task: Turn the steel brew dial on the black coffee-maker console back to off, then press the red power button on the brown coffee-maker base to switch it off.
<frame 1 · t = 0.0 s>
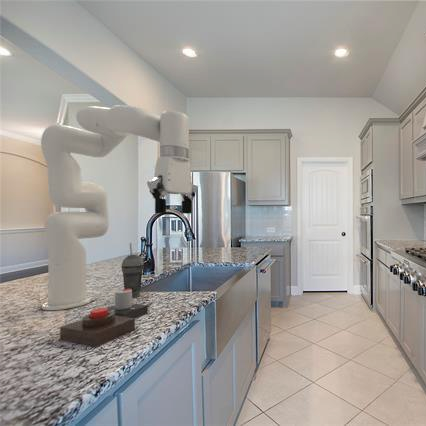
hand: (174, 213, 83), 31 cm above the countertop, tool pointing down, fingers open, 9 cm apart
power button: (99, 313, 72), point 5 cm above the countertop, slide at 0.1 cm
beverage cup: (132, 296, 106), on the countertop
dial: (123, 298, 86), point 5 cm above the countertop, hinge at 90.0°
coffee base: (98, 334, 72), on the countertop
console: (123, 315, 86), on the countertop
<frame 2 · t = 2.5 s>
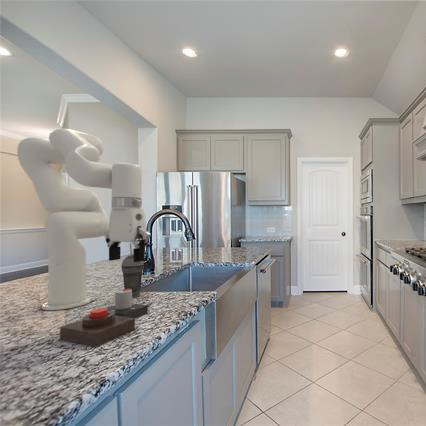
hand: (126, 260, 85), 17 cm above the countertop, tool pointing down, fingers open, 9 cm apart
nothing on the countertop moved.
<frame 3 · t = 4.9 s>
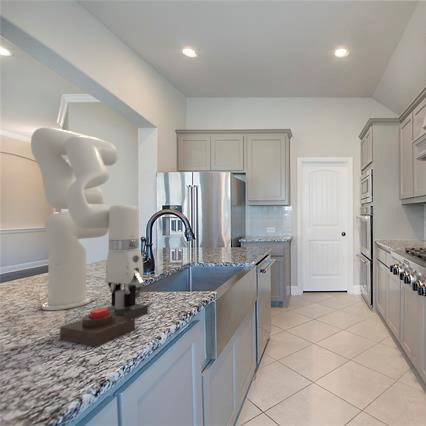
hand: (123, 304, 86), 3 cm above the countertop, tool pointing down, fingers closed on dial, 4 cm apart
dial: (123, 298, 86), point 5 cm above the countertop, hinge at 90.0°, touching gripper
everything else where it was.
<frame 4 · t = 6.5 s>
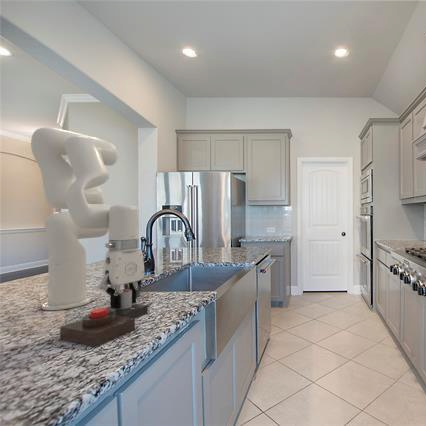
hand: (123, 304, 86), 3 cm above the countertop, tool pointing down, fingers open, 4 cm apart
dial: (123, 298, 86), point 5 cm above the countertop, hinge at -0.2°
everything else where it was.
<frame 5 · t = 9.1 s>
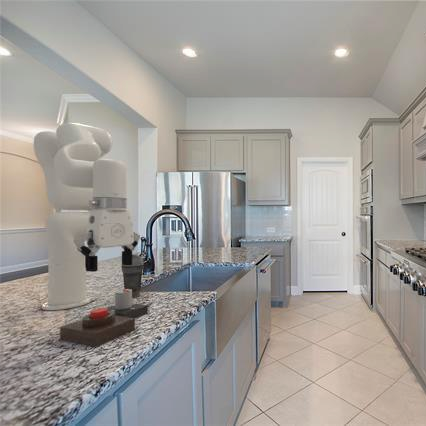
hand: (110, 267, 77), 16 cm above the countertop, tool pointing down, fingers open, 9 cm apart
nothing on the countertop moved.
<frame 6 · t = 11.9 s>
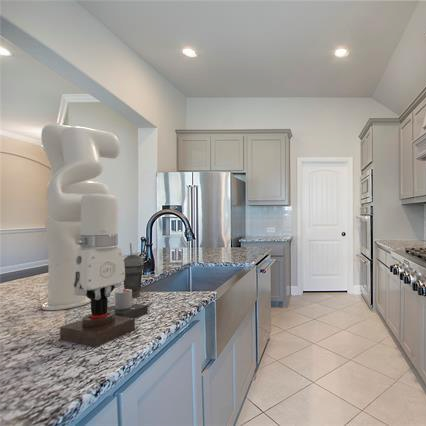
hand: (99, 313, 72), 5 cm above the countertop, tool pointing down, fingers closed
power button: (99, 317, 72), point 5 cm above the countertop, slide at -0.8 cm, touching gripper
everything else where it was.
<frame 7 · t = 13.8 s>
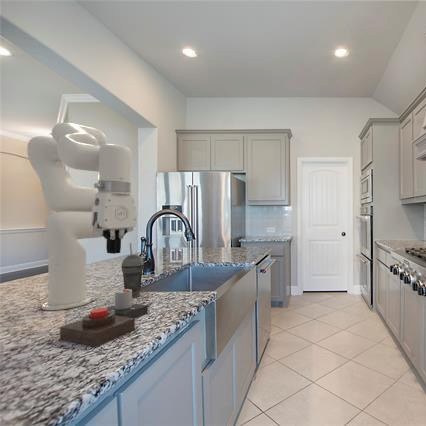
hand: (113, 252, 81), 20 cm above the countertop, tool pointing down, fingers closed
power button: (99, 313, 72), point 5 cm above the countertop, slide at 0.1 cm
everything else where it was.
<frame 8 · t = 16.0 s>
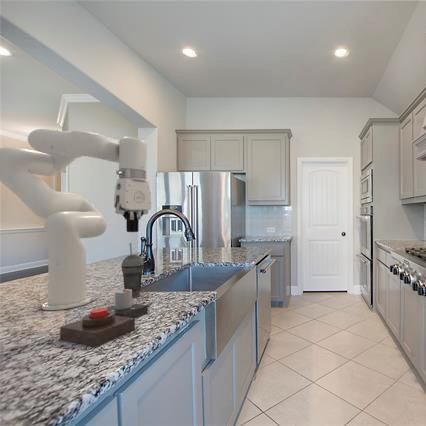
hand: (132, 231, 93), 25 cm above the countertop, tool pointing down, fingers closed
nothing on the countertop moved.
at the end: dial at +0° (first picture: +90°); power button pushed in 1.1 cm at the most during the clip and back out by the end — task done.
